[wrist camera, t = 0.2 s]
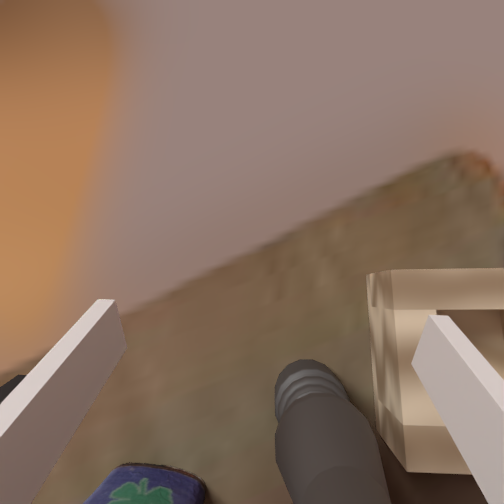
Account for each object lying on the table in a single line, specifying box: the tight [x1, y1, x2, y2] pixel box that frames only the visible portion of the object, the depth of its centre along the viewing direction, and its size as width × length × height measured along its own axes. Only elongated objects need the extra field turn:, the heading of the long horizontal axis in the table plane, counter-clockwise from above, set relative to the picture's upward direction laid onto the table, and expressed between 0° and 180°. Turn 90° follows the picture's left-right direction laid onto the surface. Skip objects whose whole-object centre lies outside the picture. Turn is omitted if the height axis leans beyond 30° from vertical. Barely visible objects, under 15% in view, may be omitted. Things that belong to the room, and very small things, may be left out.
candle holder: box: [275, 360, 392, 504], centre depth 14 cm, size 6×6×25 cm
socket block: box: [366, 268, 504, 474], centre depth 23 cm, size 14×14×6 cm
